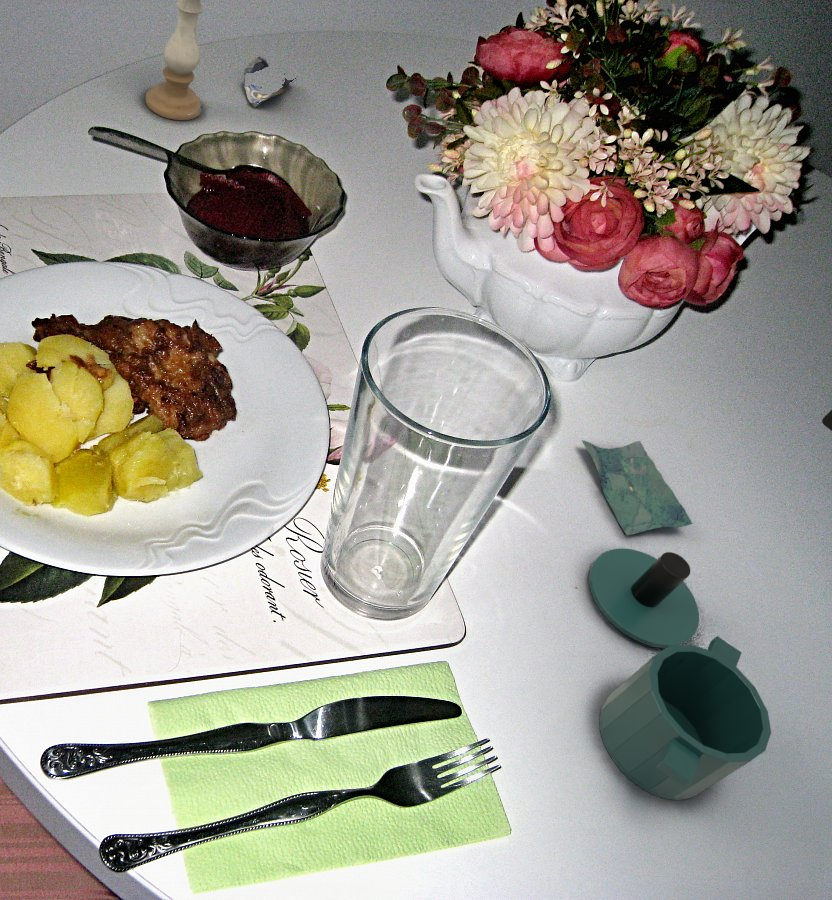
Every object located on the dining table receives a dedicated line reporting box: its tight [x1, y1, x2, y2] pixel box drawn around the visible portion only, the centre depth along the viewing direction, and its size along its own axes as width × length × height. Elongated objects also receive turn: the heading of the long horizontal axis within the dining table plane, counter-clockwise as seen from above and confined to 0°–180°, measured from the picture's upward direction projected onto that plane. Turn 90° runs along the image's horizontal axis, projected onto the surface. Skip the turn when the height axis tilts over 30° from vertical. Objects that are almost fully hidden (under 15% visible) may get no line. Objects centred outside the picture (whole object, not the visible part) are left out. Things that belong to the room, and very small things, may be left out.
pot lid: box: [588, 547, 700, 649], centre depth 89 cm, size 11×11×7 cm
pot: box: [599, 635, 772, 801], centre depth 78 cm, size 10×16×8 cm, turn 142°
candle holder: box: [145, 0, 204, 121], centre depth 131 cm, size 9×9×20 cm
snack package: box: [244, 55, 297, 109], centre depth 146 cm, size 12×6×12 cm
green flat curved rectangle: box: [581, 439, 693, 536], centre depth 102 cm, size 13×8×2 cm, turn 10°
